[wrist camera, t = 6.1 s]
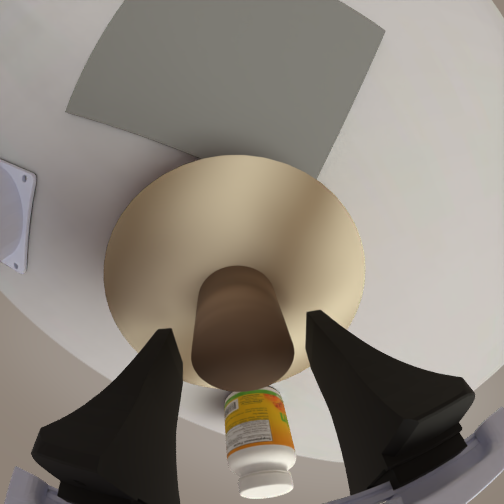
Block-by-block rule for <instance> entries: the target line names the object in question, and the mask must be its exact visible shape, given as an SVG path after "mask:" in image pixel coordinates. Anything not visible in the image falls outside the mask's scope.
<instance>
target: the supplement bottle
mask: <svg viewBox="0 0 504 504" xmlns="http://www.w3.org/2000/svg"><path fill="white" fill-rule="evenodd" d="M224 414H225V432H226V448H227V461H228V466H229V469H230V470H231V471H232V472H233V473H234V474H236V475H238V476H241V477H240V478H239V480H238V481H239V482H238V486H239V493H240V495H241V496H242V497H245V498H251V499H260V498H270V497H275V496H279V495H283V494H286V493H288V492H290V491H291V490H292V489H293V487H294V486H293V481H292V477H291V473H290V472H289V471H287V470H288V469H290V468H291V467H292V466H293V465H294V463H295V461H296V454H295V449H294V445H293V441H292V436H291V432H290V428H289V424H288V420H287V416H286V412H285V408H284V404H283V400H282V397H281V395H280V394H279V392H278V391H276V390H275V389H273V388H270V387H264V388H261V389H258V390H254V391H247V392H232V393H231V394H230V395H229V396H228V397H227V398H226V400H225V404H224Z"/></svg>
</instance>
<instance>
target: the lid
mask: <svg viewBox="0 0 504 504" xmlns="http://www.w3.org/2000/svg"><path fill="white" fill-rule="evenodd" d="M364 282H365V257H364V251H363V246H362V242H361V238H360V236H359V233H358V231H357V228H356V226H355V223H354V222H353V220H352V218H351V216H350V215H349V213H348V211H347V210H346V208H345V207H344V206H343V204H342V203H341V202H340V201H339V200H338V198H337V197H336V196H335V195H334V194H333V193H332V192H331V191H330V190H329V189H327V188H326V187H325V186H324V185H323V184H322V183H321V182H319V181H318V180H316V179H315V178H313V177H311V176H310V175H308V174H307V173H305V172H303V171H301V170H299V169H297V168H295V167H292V166H290V165H288V164H285V163H282V162H278V161H275V160H271V159H268V158H264V157H256V156H249V155H222V156H215V157H209V158H204V159H200V160H197V161H194V162H191V163H188V164H185V165H182V166H180V167H178V168H176V169H174V170H172V171H170V172H168V173H166V174H164V175H162V176H161V177H159V178H158V179H157V180H155V181H154V182H152V183H151V184H150V185H148V186H147V187H146V188H145V189H143V190H142V191H141V192H140V193H139V194H138V195H137V196H136V197H135V198H134V199H133V200H132V201H131V203H130V204H129V205H128V207H127V208H126V209H125V211H124V212H123V213H122V215H121V216H120V218H119V220H118V222H117V224H116V225H115V227H114V229H113V231H112V234H111V237H110V240H109V243H108V246H107V250H106V255H105V261H104V287H105V294H106V298H107V302H108V306H109V309H110V311H111V314H112V316H113V318H114V321H115V323H116V325H117V326H118V328H119V330H120V331H121V333H122V335H123V336H124V337H125V339H126V340H127V341H128V342H129V344H130V345H131V346H132V347H133V348H134V349H135V350H136V351H137V352H138V353H139V352H140V351H141V349H142V348H143V347H144V346H145V344H146V343H147V342H148V341H149V339H150V338H151V337H152V336H153V334H154V333H155V332H156V331H157V330H158V329H165V328H172V331H173V334H174V337H175V340H176V343H177V346H178V349H179V352H180V355H181V358H182V361H183V381H185V382H188V383H191V384H195V385H199V386H203V387H209V388H216V389H222V390H226V391H233V392H247V391H254V390H258V389H261V388H264V387H267V386H269V385H271V384H273V383H276V382H279V381H281V380H284V379H287V378H289V377H291V376H293V375H295V374H298V373H300V372H301V371H303V370H305V369H306V368H308V367H310V363H309V360H308V357H307V353H306V350H305V340H306V312H309V311H315V310H322V311H323V312H324V313H326V314H327V315H328V316H329V317H331V318H332V319H333V320H334V321H336V322H337V323H338V324H340V325H341V326H342V327H343V328H345V329H346V330H347V329H348V327H349V326H350V324H351V322H352V320H353V318H354V316H355V314H356V312H357V309H358V307H359V304H360V301H361V298H362V293H363V288H364Z"/></svg>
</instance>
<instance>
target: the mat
mask: <svg viewBox="0 0 504 504" xmlns="http://www.w3.org/2000/svg"><path fill="white" fill-rule="evenodd" d="M384 33H385V30H384V29H382V28H381V27H380V26H378V25H377V24H375V23H374V22H372V21H371V20H370V19H368V18H367V17H365V16H363V15H362V14H360V13H359V12H357V11H356V10H354V9H352V8H351V7H349V6H347V5H346V4H344V3H342V2H340V1H339V0H125V1H124V2H123V4H122V5H121V6H120V8H119V9H118V11H117V12H116V14H115V15H114V17H113V18H112V20H111V21H110V23H109V24H108V26H107V27H106V29H105V31H104V32H103V34H102V36H101V37H100V39H99V41H98V43H97V44H96V46H95V48H94V50H93V52H92V54H91V55H90V57H89V59H88V61H87V63H86V65H85V67H84V69H83V71H82V73H81V76H80V78H79V80H78V82H77V84H76V87H75V89H74V91H73V94H72V96H71V98H70V101H69V103H68V106H67V109H66V111H65V112H67V113H70V114H74V115H77V116H81V117H84V118H88V119H91V120H94V121H97V122H101V123H104V124H107V125H110V126H113V127H116V128H119V129H122V130H125V131H128V132H131V133H134V134H137V135H140V136H143V137H146V138H148V139H151V140H154V141H157V142H159V143H162V144H165V145H167V146H170V147H173V148H175V149H178V150H181V151H183V152H186V153H188V154H191V155H193V156H196V157H198V158H201V159H204V158H209V157H215V156H222V155H249V156H256V157H264V158H268V159H271V160H275V161H278V162H282V163H285V164H288V165H290V166H292V167H295V168H297V169H299V170H301V171H303V172H305V173H307V174H308V175H310V176H311V177H313V178H315V179H317V177H318V175H319V173H320V171H321V169H322V167H323V165H324V163H325V161H326V159H327V157H328V155H329V153H330V151H331V149H332V147H333V144H334V142H335V140H336V138H337V136H338V134H339V132H340V130H341V128H342V126H343V124H344V121H345V119H346V117H347V115H348V113H349V111H350V109H351V107H352V104H353V102H354V100H355V98H356V96H357V94H358V92H359V89H360V87H361V85H362V83H363V81H364V78H365V76H366V74H367V72H368V70H369V67H370V65H371V63H372V61H373V58H374V56H375V54H376V52H377V49H378V47H379V45H380V43H381V40H382V38H383V36H384Z"/></svg>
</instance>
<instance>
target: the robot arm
mask: <svg viewBox="0 0 504 504" xmlns="http://www.w3.org/2000/svg"><path fill="white" fill-rule="evenodd" d="M25 176H26V177H27V180H25ZM35 186H36V176H35V174H34V173H32V172H30V171H27V170H25V169H23V168H20V167H18V166H15V165H13V164H11V163H8V162H6V161H4V160H1V159H0V262H2V263H4V264H6V265H7V266H9V267H10V268H12V269H14V270H15V271H17V272H19V273H20V274H24V273H25V272H26V269H27V248H28V235H29V225H30V217H31V209H32V203H33V197H34V191H35ZM17 265H18V266H17ZM305 350H306V353H307V357H308V360H309V363H310V367H311V370H312V372H313V374H314V376H315V379H316V381H317V383H318V386H319V388H320V390H321V392H322V395H323V397H324V399H325V401H326V404H327V406H328V408H329V411H330V413H331V416H332V419H333V423H334V426H335V429H336V433H337V436H338V440H339V444H340V448H341V451H342V456H343V460H344V464H345V468H346V473H347V478H348V484H349V489H350V495H351V496H348V497H345V498H341V499H338V500H334V501H331V502H327V503H323V504H380V503H382V502H385V501H386V502H385V503H383V504H467V503H468V502H469V501H470V500H472V499H473V498H474V497H475V496H476V495H478V494H479V493H480V492H481V491H482V490H483V489H484V488H486V487H487V486H488V485H489V484H490V483H491V482H492V481H493V480H494V479H495V478H496V477H497V476H498V475H499V474H500V473H501V472H502V471H503V470H504V408H503V407H500V408H499V409H498V410H496V412H494V413H493V414H492V415H491V416H489V417H488V418H487V419H486V420H484V421H483V422H482V423H481V424H480V425H479V427H478V428H477V429H476V430H475V432H474V433H473V434H471V435H470V436H469V437H467V438H466V439H463V437H462V436H461V435H460V433H459V432H460V431H461V430H462V427H461V425H460V424H459V421H460V420H461V419H462V417H463V416H464V415H465V413H466V412H467V410H468V409H469V408H470V406H471V405H472V403H473V401H474V399H475V393H474V392H473V390H472V389H471V388H470V387H469V385H468V384H467V383H466V382H465V380H464V379H463V378H462V377H456V376H450V375H444V374H439V373H435V372H431V371H427V370H424V369H420V368H417V367H414V366H412V365H409V364H406V363H404V362H401V361H399V360H397V359H394V358H392V357H390V356H388V355H386V354H384V353H382V352H380V351H378V350H377V349H375V348H373V347H372V346H370V345H368V344H367V343H365V342H364V341H362V340H360V339H359V338H357V337H356V336H355V335H353V334H352V333H350V332H349V331H348V330H346V329H345V328H343V327H342V326H341V325H340V324H338V323H337V322H336V321H334V320H333V319H332V318H331V317H329V316H328V315H327V314H326V313H324V312H323V311H322V310H315V311H309V312H306V340H305ZM182 385H183V361H182V358H181V355H180V352H179V349H178V346H177V343H176V340H175V337H174V334H173V331H172V328H165V329H158V330H157V331H156V332H155V333H154V334H153V336H152V337H151V338H150V339H149V341H148V342H147V343H146V344H145V346H144V347H143V348H142V349H141V351H140V352H139V353H138V354H137V356H136V357H135V358H134V359H133V360H132V362H131V363H130V364H129V365H128V366H127V367H126V368H125V369H124V370H123V371H122V373H121V374H120V375H119V376H118V377H117V378H116V379H115V380H114V381H113V382H112V383H111V384H110V385H108V386H107V387H106V388H105V389H104V390H103V391H102V392H100V394H98V395H97V396H95V397H94V398H93V399H91V400H90V401H89V402H87V403H86V404H85V405H83V406H82V407H80V408H79V409H77V410H75V411H74V412H72V413H71V414H69V415H67V416H65V417H63V418H62V419H60V420H57V421H55V422H53V423H51V424H49V425H47V426H44V427H42V428H41V429H40V431H39V434H38V436H37V439H36V441H35V444H34V447H33V449H32V452H31V455H32V457H33V459H34V460H35V461H36V462H37V463H38V464H39V465H40V466H41V467H43V468H44V469H45V470H47V471H48V472H49V473H51V474H52V475H53V476H55V477H56V478H57V479H59V480H60V486H59V489H57V488H54V487H52V486H49V485H48V484H47V483H46V482H44V481H43V480H41V479H40V478H38V477H37V476H35V475H33V474H31V473H29V472H27V471H25V470H23V469H21V468H19V467H17V466H16V467H15V469H14V471H13V475H12V478H11V481H10V484H9V488H8V492H7V495H6V499H5V503H4V504H180V498H179V491H178V481H177V467H176V427H177V420H178V413H179V406H180V399H181V392H182Z"/></svg>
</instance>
